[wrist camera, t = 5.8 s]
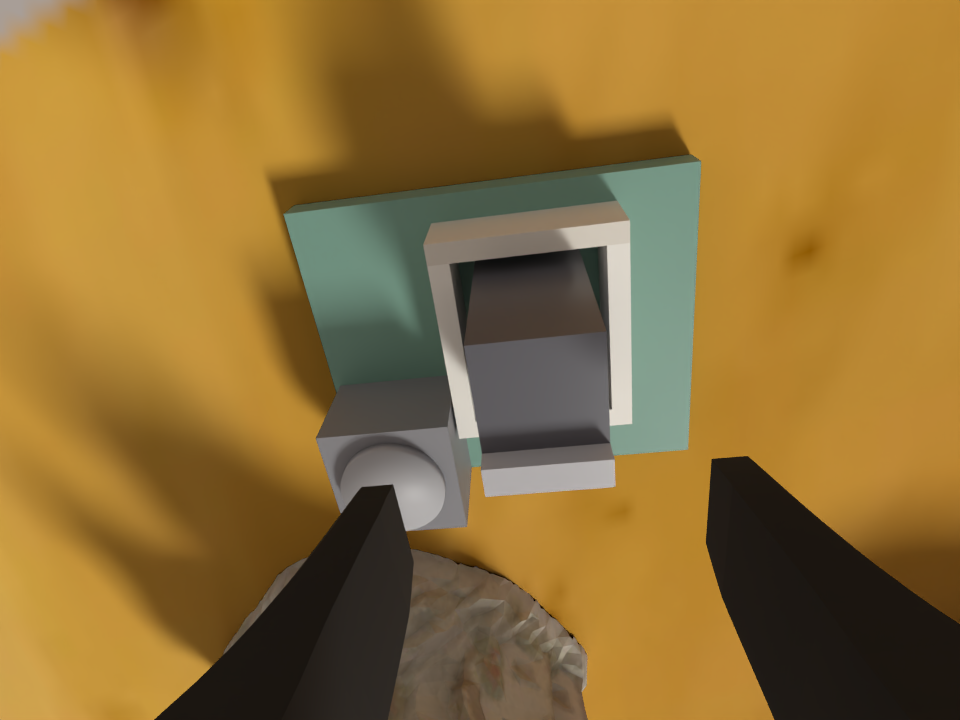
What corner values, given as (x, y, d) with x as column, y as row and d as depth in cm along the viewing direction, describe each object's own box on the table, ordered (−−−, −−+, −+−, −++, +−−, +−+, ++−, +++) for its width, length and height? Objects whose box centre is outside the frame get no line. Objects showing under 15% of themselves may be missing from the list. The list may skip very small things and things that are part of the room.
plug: (576, 240, 18) (611, 344, 12) (582, 358, 19) (615, 496, 14) (476, 252, 18) (462, 359, 12) (492, 366, 20) (487, 506, 14)
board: (691, 154, 17) (744, 190, 13) (680, 432, 22) (717, 518, 18) (294, 205, 18) (237, 252, 14) (366, 458, 23) (339, 544, 19)
